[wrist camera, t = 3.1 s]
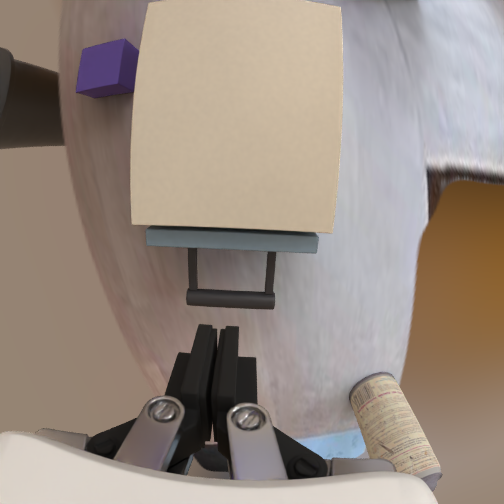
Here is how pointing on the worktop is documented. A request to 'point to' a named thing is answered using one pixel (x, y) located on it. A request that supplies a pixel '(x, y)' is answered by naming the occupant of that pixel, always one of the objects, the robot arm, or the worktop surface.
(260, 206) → the cabinet
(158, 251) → the worktop surface
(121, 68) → the purple cube
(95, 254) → the worktop surface
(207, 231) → the drawer
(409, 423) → the aerosol can
